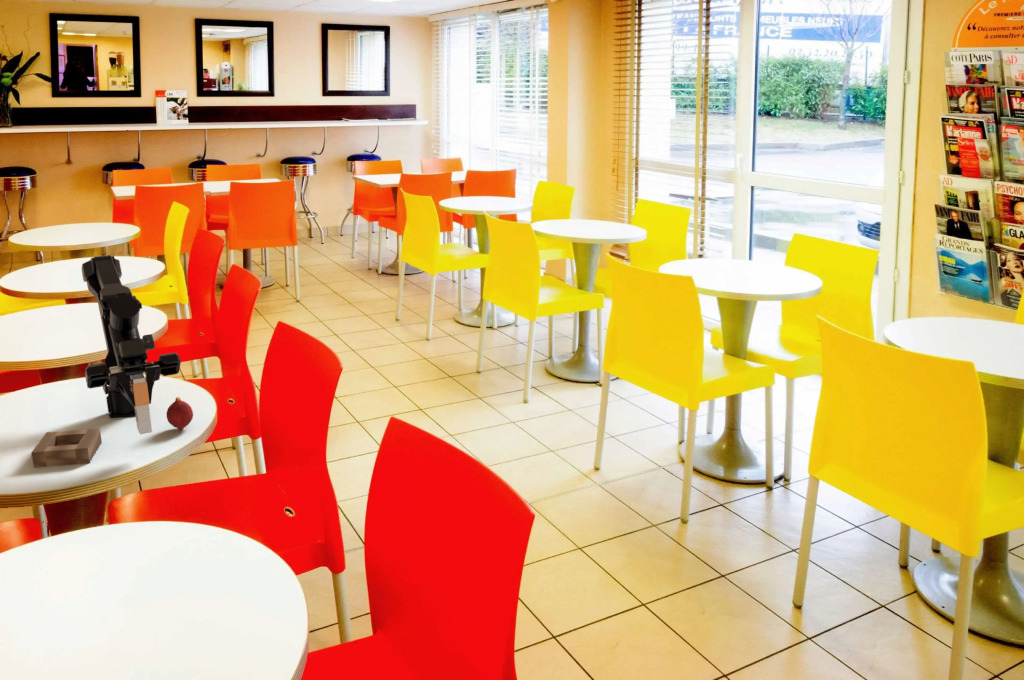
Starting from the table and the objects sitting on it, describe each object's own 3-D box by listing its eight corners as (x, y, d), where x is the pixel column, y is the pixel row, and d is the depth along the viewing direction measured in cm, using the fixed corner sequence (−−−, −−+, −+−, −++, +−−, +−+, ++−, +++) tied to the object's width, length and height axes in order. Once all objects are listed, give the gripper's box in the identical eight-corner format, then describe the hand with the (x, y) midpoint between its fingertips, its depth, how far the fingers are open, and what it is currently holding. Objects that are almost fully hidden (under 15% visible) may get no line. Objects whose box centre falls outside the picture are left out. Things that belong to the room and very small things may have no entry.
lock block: (101, 442, 193) (99, 428, 192) (89, 462, 183) (87, 447, 182) (49, 446, 191) (46, 432, 190) (33, 467, 180) (31, 452, 179)
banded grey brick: (136, 429, 185) (129, 375, 182) (149, 426, 187) (143, 372, 183) (139, 435, 182) (132, 380, 179) (153, 432, 184) (146, 377, 180)
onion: (199, 429, 201) (195, 397, 198) (175, 436, 197) (171, 403, 194) (187, 422, 204) (183, 391, 202) (164, 429, 200) (160, 397, 198)
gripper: (79, 329, 176) (94, 395, 171) (173, 317, 186) (190, 379, 180) (80, 355, 185) (94, 419, 179) (170, 342, 194) (186, 402, 189)
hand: (142, 404), depth 182 cm, fingers closed on banded grey brick, 3 cm apart
